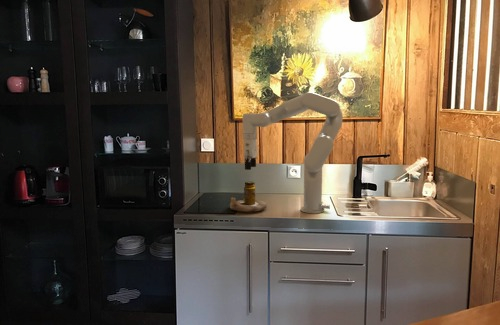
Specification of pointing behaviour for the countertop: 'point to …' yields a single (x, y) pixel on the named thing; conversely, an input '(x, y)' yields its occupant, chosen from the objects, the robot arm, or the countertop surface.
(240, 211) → the base
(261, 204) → the brown round disc
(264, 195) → the countertop surface
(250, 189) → the condiment
